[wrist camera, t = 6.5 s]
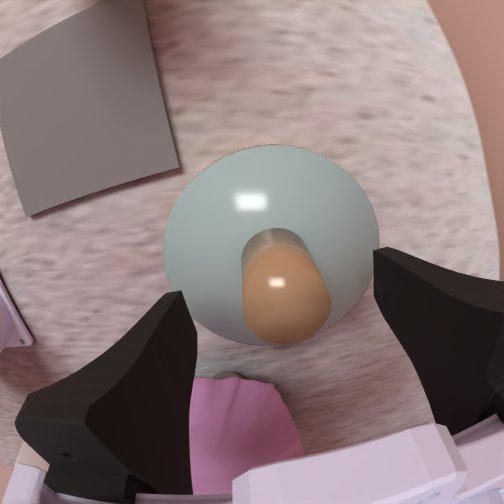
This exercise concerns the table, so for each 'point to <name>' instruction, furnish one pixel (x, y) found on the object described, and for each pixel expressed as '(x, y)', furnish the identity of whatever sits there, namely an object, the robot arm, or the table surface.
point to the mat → (84, 107)
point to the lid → (271, 245)
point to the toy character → (236, 430)
